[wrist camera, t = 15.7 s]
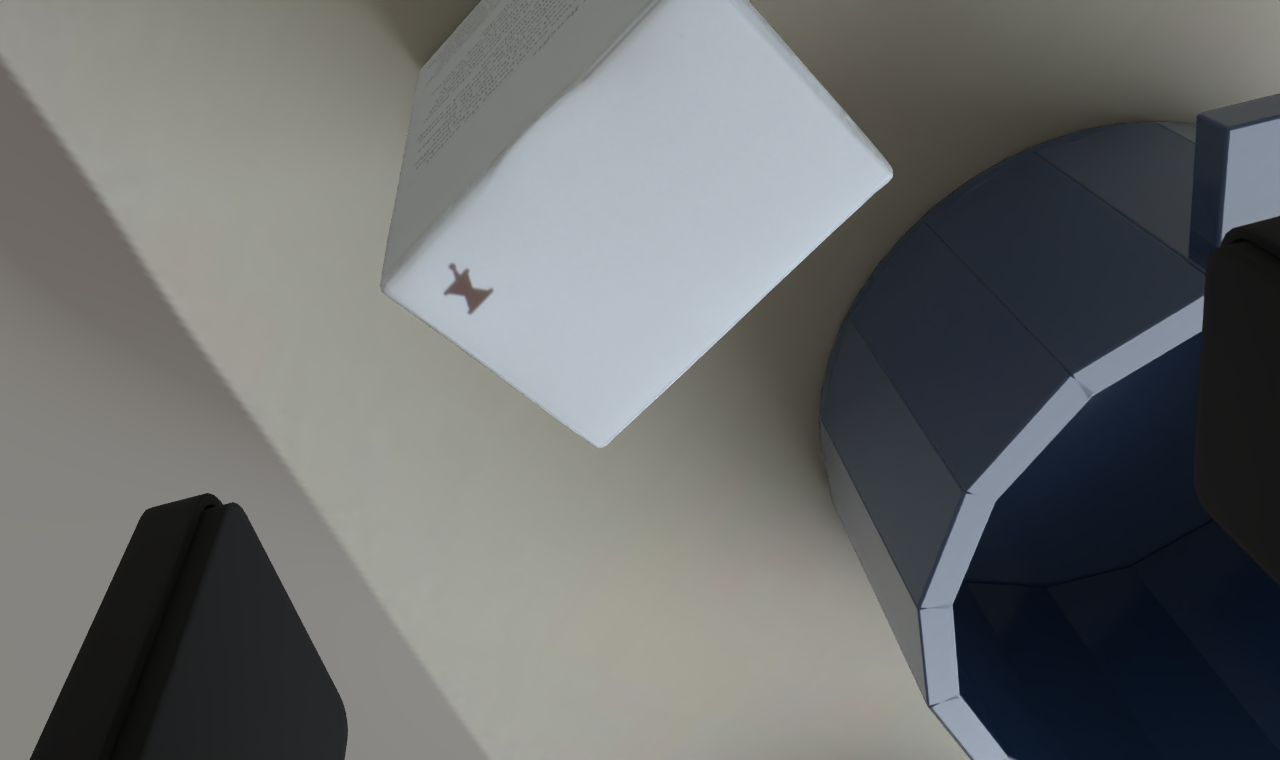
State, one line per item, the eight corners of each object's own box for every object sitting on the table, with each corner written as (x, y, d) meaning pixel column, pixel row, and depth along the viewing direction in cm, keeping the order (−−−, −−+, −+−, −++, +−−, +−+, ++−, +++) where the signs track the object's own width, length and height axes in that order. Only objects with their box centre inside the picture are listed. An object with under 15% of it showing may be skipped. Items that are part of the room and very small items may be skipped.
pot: (1397, -56, 26) (1760, 14, 18) (1302, 587, 36) (1506, 794, 29) (768, 99, 26) (879, 231, 18) (857, 697, 36) (950, 931, 29)
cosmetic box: (552, 191, 26) (593, 467, 16) (414, 69, 24) (360, 292, 14) (732, 5, 24) (910, 179, 14) (599, -140, 23) (692, -63, 12)
